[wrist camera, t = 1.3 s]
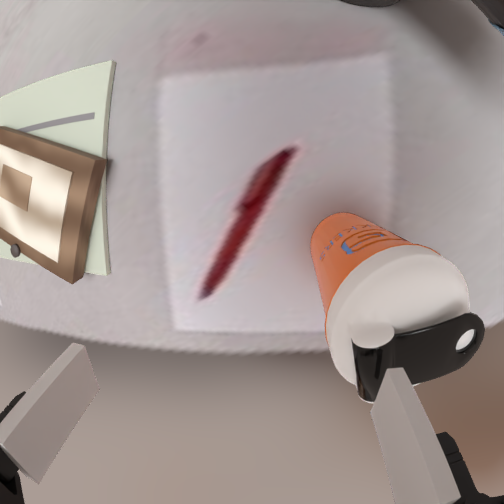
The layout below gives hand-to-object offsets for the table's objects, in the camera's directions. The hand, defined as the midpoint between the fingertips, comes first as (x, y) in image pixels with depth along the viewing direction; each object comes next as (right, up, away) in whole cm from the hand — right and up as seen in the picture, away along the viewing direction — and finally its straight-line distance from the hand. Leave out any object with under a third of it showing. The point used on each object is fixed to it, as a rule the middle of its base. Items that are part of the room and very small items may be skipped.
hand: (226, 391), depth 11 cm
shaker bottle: (+11, +7, +19) cm, 23 cm away
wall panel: (-30, +17, +19) cm, 39 cm away
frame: (-28, +13, +19) cm, 36 cm away
